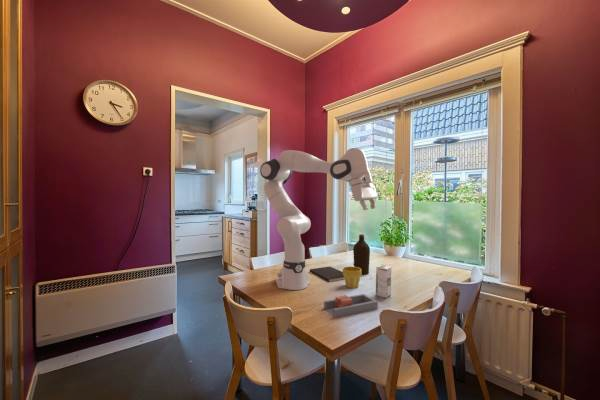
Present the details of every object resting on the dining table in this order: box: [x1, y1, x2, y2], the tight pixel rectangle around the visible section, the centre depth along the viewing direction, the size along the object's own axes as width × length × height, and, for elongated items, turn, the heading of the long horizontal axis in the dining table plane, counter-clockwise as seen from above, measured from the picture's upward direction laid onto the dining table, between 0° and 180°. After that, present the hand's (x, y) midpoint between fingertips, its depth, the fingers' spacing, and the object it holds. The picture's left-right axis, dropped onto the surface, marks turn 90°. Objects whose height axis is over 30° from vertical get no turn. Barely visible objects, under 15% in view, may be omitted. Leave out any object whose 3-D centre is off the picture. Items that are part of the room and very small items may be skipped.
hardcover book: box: [309, 266, 345, 283], centre depth 159 cm, size 16×23×2 cm
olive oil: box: [352, 233, 371, 276], centre depth 164 cm, size 11×11×25 cm
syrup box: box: [375, 264, 392, 299], centre depth 126 cm, size 6×6×14 cm
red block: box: [335, 294, 353, 308], centre depth 107 cm, size 5×5×5 cm
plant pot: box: [342, 265, 362, 289], centre depth 139 cm, size 10×10×10 cm
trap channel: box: [323, 293, 379, 319], centre depth 108 cm, size 9×21×4 cm, turn 114°
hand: (369, 209), depth 117 cm, fingers open, 8 cm apart
